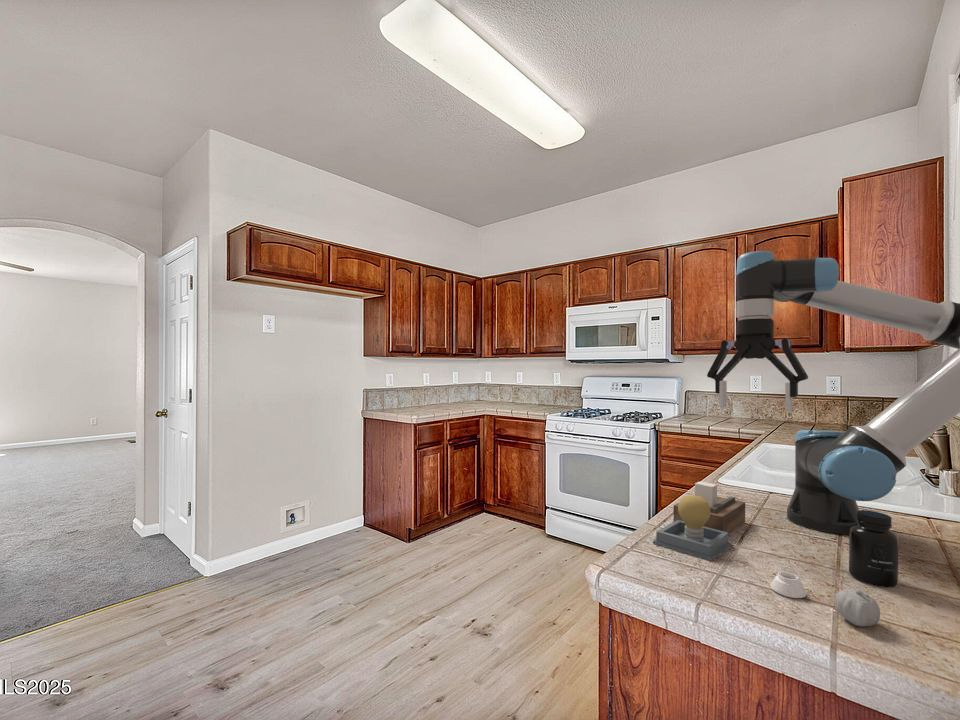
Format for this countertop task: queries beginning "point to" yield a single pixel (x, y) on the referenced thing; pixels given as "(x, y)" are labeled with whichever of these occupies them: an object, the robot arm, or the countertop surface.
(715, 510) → the switch box
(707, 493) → the toggle
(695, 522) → the light bulb
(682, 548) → the tray
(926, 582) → the countertop surface
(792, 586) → the white conical ring
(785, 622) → the countertop surface
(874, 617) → the garlic
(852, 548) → the supplement bottle
